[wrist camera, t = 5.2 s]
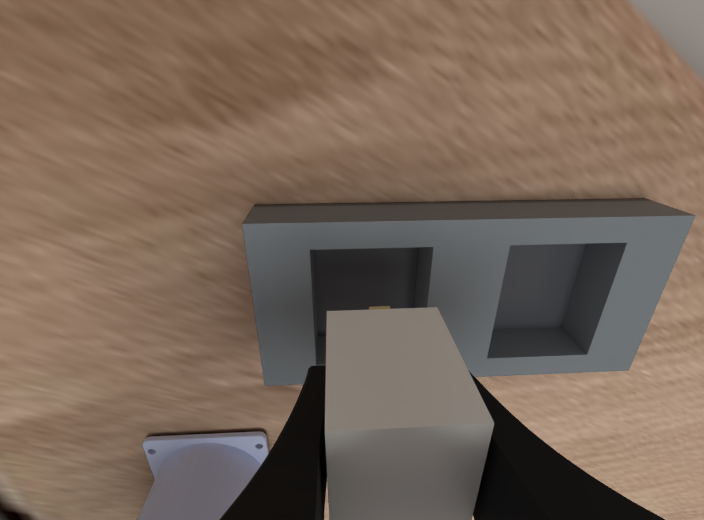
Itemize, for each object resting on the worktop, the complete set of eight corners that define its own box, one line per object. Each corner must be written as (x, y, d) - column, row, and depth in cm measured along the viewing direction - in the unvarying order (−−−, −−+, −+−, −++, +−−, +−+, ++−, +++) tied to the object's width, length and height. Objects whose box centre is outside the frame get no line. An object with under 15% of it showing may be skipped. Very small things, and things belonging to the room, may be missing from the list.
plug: (421, 392, 16) (466, 542, 11) (330, 396, 16) (331, 551, 10) (431, 295, 14) (494, 423, 8) (326, 299, 13) (324, 431, 8)
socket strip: (594, 339, 22) (628, 370, 20) (272, 350, 21) (264, 385, 19) (645, 198, 18) (695, 215, 16) (254, 204, 17) (241, 223, 15)
